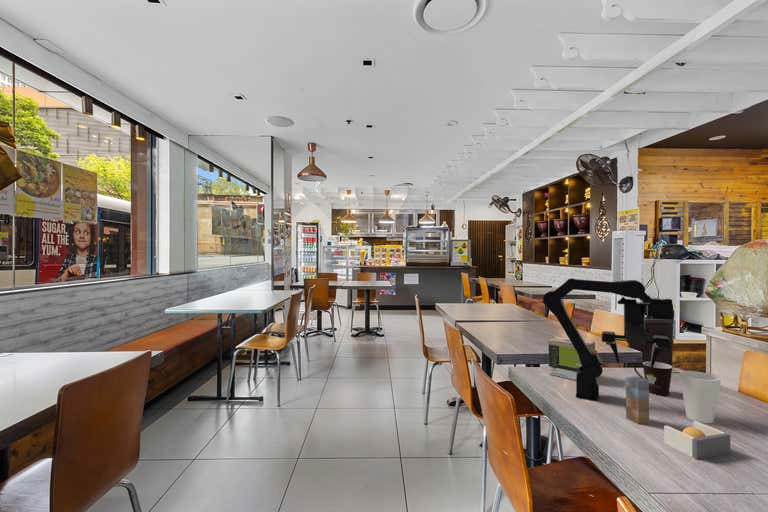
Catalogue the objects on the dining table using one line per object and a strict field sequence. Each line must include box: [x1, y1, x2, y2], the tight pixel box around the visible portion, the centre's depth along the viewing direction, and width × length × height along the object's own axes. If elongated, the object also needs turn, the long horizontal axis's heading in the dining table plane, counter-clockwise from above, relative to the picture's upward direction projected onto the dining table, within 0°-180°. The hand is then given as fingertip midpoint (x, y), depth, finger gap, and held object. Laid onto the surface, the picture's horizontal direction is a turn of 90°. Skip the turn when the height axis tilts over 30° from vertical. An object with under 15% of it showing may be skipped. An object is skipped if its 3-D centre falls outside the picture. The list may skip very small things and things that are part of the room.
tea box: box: [547, 336, 596, 381], centre depth 151 cm, size 15×10×15 cm
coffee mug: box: [633, 361, 673, 397], centre depth 133 cm, size 12×9×10 cm
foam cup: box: [679, 370, 722, 424], centre depth 111 cm, size 10×9×13 cm
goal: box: [663, 420, 731, 460], centre depth 94 cm, size 8×11×4 cm
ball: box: [682, 426, 706, 438], centre depth 94 cm, size 5×5×5 cm
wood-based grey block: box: [625, 375, 650, 425], centre depth 110 cm, size 4×4×12 cm
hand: (634, 365), depth 122 cm, fingers open, 9 cm apart
